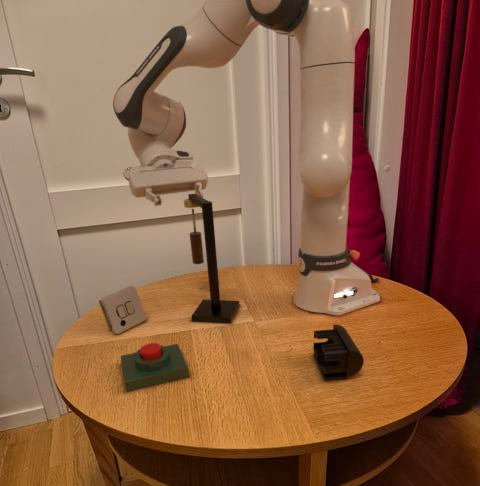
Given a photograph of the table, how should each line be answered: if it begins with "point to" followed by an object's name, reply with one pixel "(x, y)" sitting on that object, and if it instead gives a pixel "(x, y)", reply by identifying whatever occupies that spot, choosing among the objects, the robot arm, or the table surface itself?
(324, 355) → the end cap
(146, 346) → the button
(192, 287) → the table surface
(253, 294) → the table surface
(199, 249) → the pull handle
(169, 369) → the button box
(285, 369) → the table surface
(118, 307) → the electrical switch
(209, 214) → the hanging handle stand
